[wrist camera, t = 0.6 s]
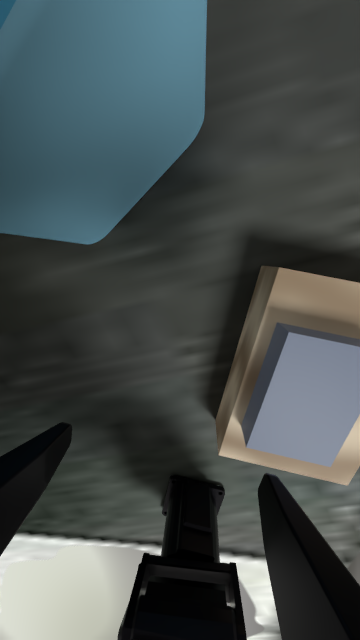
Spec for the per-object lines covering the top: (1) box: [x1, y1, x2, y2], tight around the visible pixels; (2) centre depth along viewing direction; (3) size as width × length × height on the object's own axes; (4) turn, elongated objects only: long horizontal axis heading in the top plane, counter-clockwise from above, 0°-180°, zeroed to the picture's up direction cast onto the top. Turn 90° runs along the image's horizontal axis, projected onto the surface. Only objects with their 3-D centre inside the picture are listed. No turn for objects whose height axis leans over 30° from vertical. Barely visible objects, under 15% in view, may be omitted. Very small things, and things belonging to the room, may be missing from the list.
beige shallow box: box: [216, 266, 360, 486], centre depth 17 cm, size 16×11×4 cm
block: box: [241, 322, 360, 467], centre depth 14 cm, size 9×6×2 cm, turn 169°
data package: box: [0, 0, 207, 244], centre depth 10 cm, size 12×4×12 cm, turn 131°
